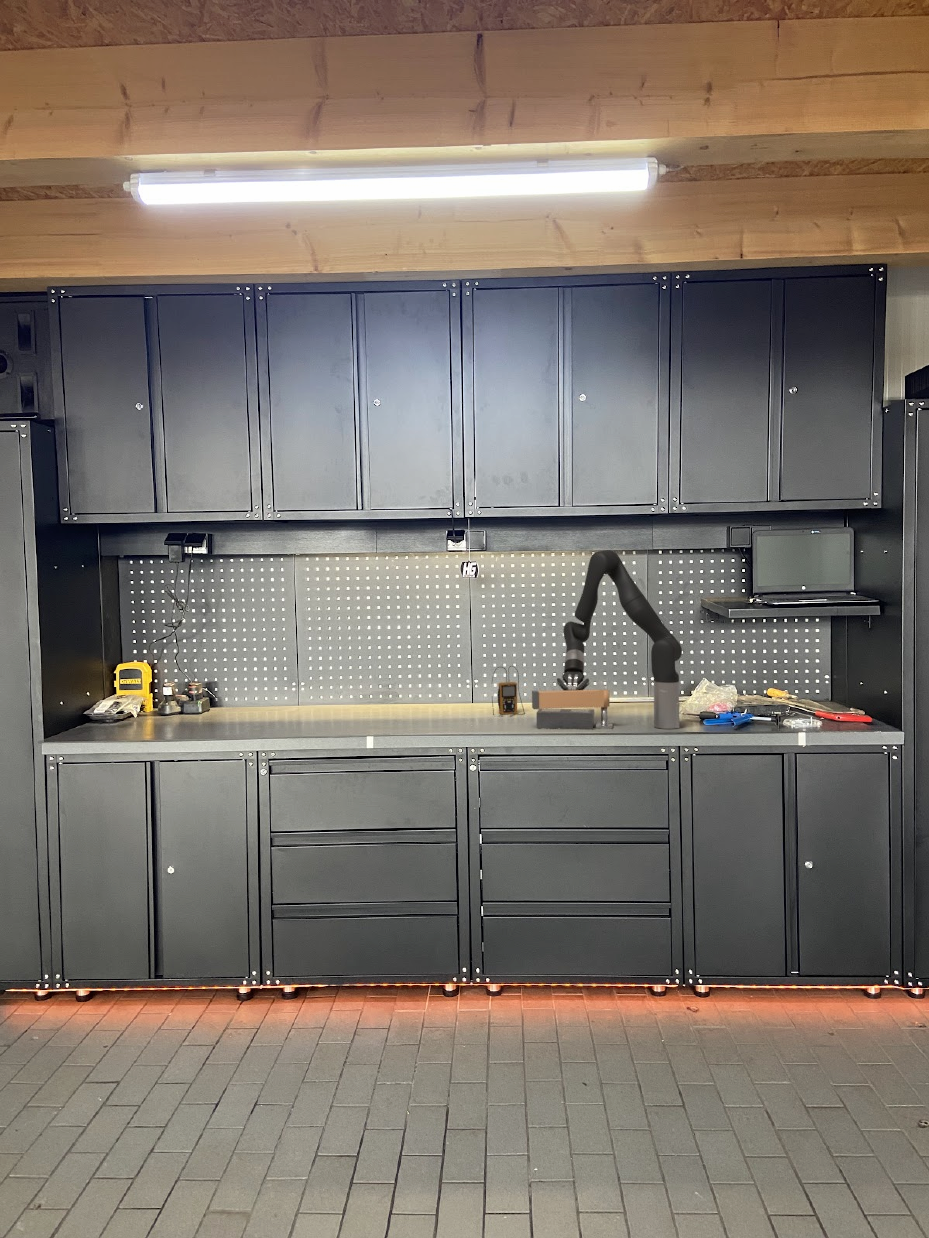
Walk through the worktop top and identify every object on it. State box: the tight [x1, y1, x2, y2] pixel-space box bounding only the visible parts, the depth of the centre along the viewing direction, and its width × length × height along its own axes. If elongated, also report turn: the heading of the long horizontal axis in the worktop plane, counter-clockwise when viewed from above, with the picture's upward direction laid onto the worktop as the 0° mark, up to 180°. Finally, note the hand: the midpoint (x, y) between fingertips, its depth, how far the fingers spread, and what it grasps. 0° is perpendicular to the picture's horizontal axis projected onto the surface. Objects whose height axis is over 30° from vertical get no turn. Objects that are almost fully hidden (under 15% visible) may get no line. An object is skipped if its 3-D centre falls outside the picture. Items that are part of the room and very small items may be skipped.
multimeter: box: [491, 665, 526, 717], centre depth 377 cm, size 15×10×20 cm
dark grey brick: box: [536, 708, 595, 730], centre depth 349 cm, size 21×10×6 cm, turn 79°
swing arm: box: [531, 689, 611, 710], centre depth 345 cm, size 29×4×6 cm, turn 93°
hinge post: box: [595, 707, 614, 730], centre depth 346 cm, size 6×6×8 cm
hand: (571, 699), depth 348 cm, fingers closed
